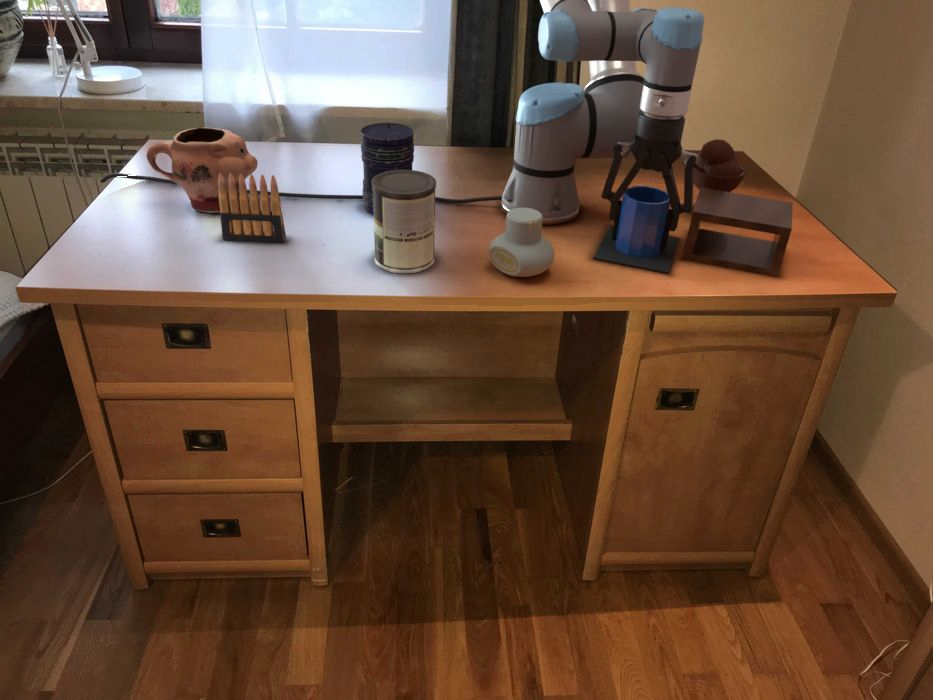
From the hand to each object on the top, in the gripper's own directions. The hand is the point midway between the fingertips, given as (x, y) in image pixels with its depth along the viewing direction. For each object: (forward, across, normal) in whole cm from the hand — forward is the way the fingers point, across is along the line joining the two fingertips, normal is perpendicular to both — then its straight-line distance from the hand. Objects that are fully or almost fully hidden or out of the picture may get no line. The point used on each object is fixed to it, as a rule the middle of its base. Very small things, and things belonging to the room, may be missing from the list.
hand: (639, 241), depth 135 cm
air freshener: (+2, -17, -16) cm, 24 cm away
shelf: (+2, +16, +6) cm, 17 cm away
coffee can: (+2, -36, -21) cm, 42 cm away
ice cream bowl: (+2, +10, +23) cm, 25 cm away
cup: (+1, 0, 0) cm, 1 cm away
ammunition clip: (+2, -63, -25) cm, 68 cm away
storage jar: (+2, -48, -2) cm, 48 cm away
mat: (+2, 0, 0) cm, 2 cm away
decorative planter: (+2, -79, -16) cm, 81 cm away
